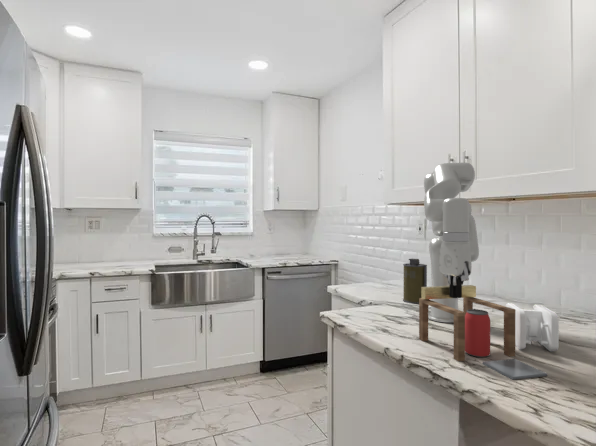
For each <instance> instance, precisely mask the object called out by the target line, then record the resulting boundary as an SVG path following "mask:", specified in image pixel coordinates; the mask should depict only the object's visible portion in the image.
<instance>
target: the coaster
mask: <svg viewBox="0 0 596 446" xmlns="http://www.w3.org/2000/svg"><path fill="white" fill-rule="evenodd" d="M481 364H482V365H483V366H485V367H487V368H490V369H491V370H492V371H495V372H497V373H499V374H501V375H502V376H505V377H506V378H509V379H510V380H511V381H512V380H521V379H530V378H540V377H547V376H548V373H547V372H545V371H543V370H541V369H539V368H536V367H534V366H532V365H530V364H527V363H525V362H523V361H522V360H521V361H520V360H518V359H516V358H508V359H507V358H505V359H497V360H487V361H486V360H485V361H482V363H481Z"/></svg>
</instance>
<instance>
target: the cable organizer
mask: <svg viewBox="0 0 596 446" xmlns="http://www.w3.org/2000/svg"><path fill="white" fill-rule="evenodd" d="M505 307H509V308H512V309H515V348H517V349H518V350H520V351H521V350H523V349H525V348H526V347H527V344H530V345H529V346H531V344H532V342H538V343H539V344H540V346H541V347H545V348H546V350H548V351H549V352H552V353H553V352H557V351H558V350H559V345H560V344H559V336H560V335H559V332H560V329H559V328H560V324H559V322H560V321H559V315H558V314H557V312H555V311H553V310H551V309H549V308H547V307H546V306H545V305H542V304H534V305H533V306H532V309H525V308H523V309H522V308H521V307H519V306H517V305H516V304H514V303H511V302H510V303H509V302H508V303H507V302H506V304H505Z"/></svg>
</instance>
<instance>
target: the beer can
mask: <svg viewBox="0 0 596 446" xmlns="http://www.w3.org/2000/svg"><path fill="white" fill-rule="evenodd" d="M465 354H467V355H469V356H472V357H476V358H477V357H478V358H487V357H490V355H491V317H490V316H489V312H488V311H487V310H483V309H477V308H475V309H474V308H473V309H469V310H467V313H466V315H465Z"/></svg>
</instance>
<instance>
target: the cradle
mask: <svg viewBox="0 0 596 446" xmlns="http://www.w3.org/2000/svg"><path fill="white" fill-rule="evenodd" d="M462 299H463V300H462V301H463V302H462V303H463V304H462V305H463V307H462V308H463V310H459V309H458V310H457V309H454V308H451V307H449V306H446V305H443V304H440V303H437V302H435V301H432V299H426V300H425V299H422V298H419V303H418V339H419V340H420V341H422V342H428V341H429V318H428V313H429V308H428V306H429V305H430V306H432V307H435V308H438V309H440V310H443V311H445V312H448V313H451V314H453V315H454V323H453V360H455V361H457V362H465V361H466V360H465V359H466V352H465V315H466V313H467V310H469V309H474V305H473V304H474V303H475V304H477V305H481V306H484V307H487V308H491V309H494V310H498V311H501V312H503V355H504V356H507V357H516V345H515V309H512V308H509V307H506V305H502V304H497V303H495V302H491V301H487V300H485V299H480V298H477V297H468V298H462Z"/></svg>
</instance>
